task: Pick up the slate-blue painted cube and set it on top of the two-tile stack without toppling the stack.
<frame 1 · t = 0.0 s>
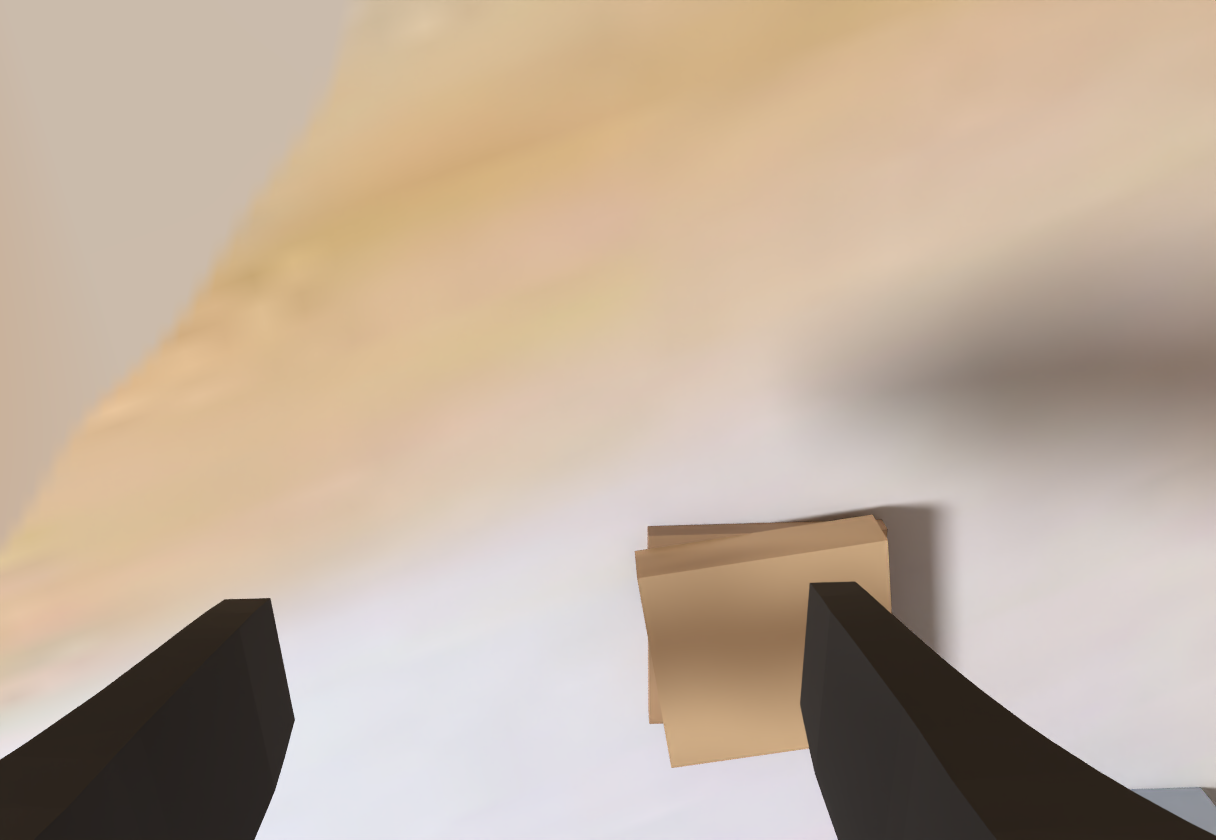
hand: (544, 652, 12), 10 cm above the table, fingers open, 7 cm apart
slab top: (764, 630, 24), resting on slab bottom
slab bottom: (754, 603, 25), on the table, touching slab top
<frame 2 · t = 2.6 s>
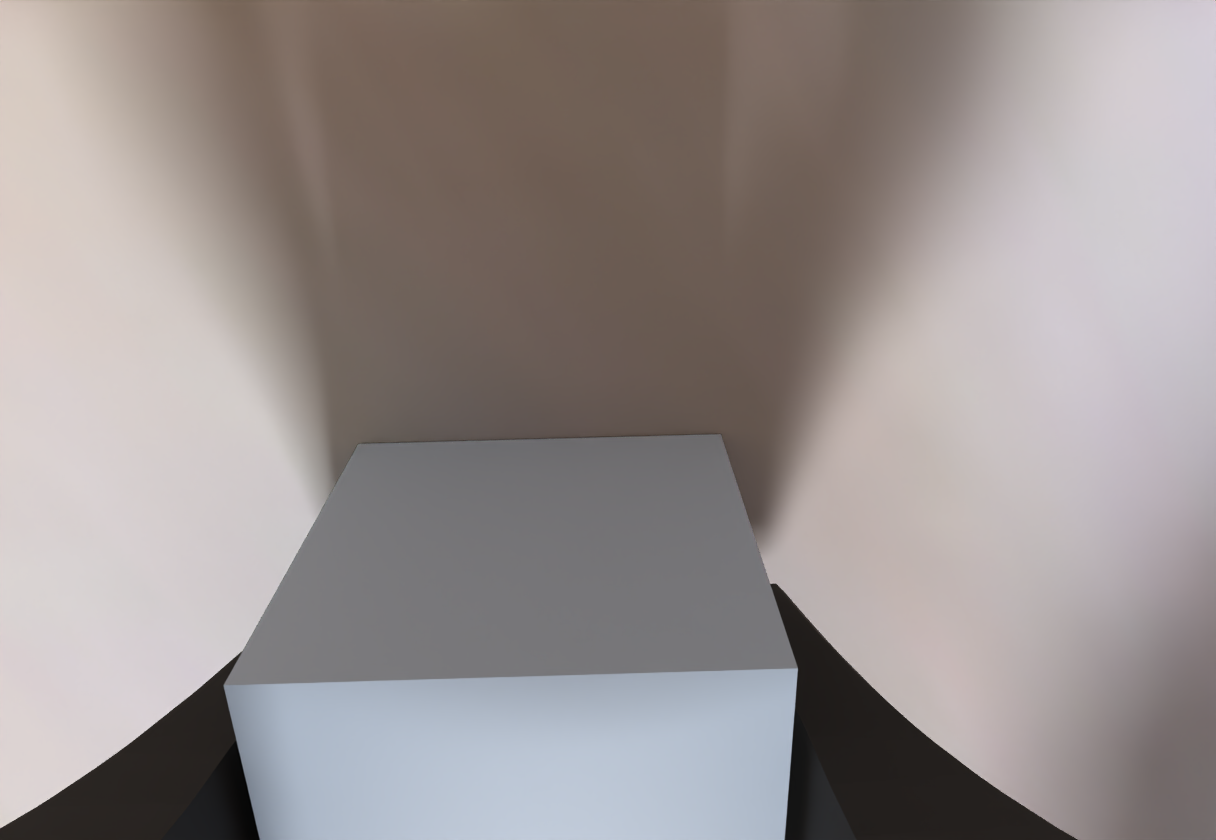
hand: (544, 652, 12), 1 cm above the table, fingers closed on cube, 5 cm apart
cube: (548, 591, 13), on the table, touching gripper
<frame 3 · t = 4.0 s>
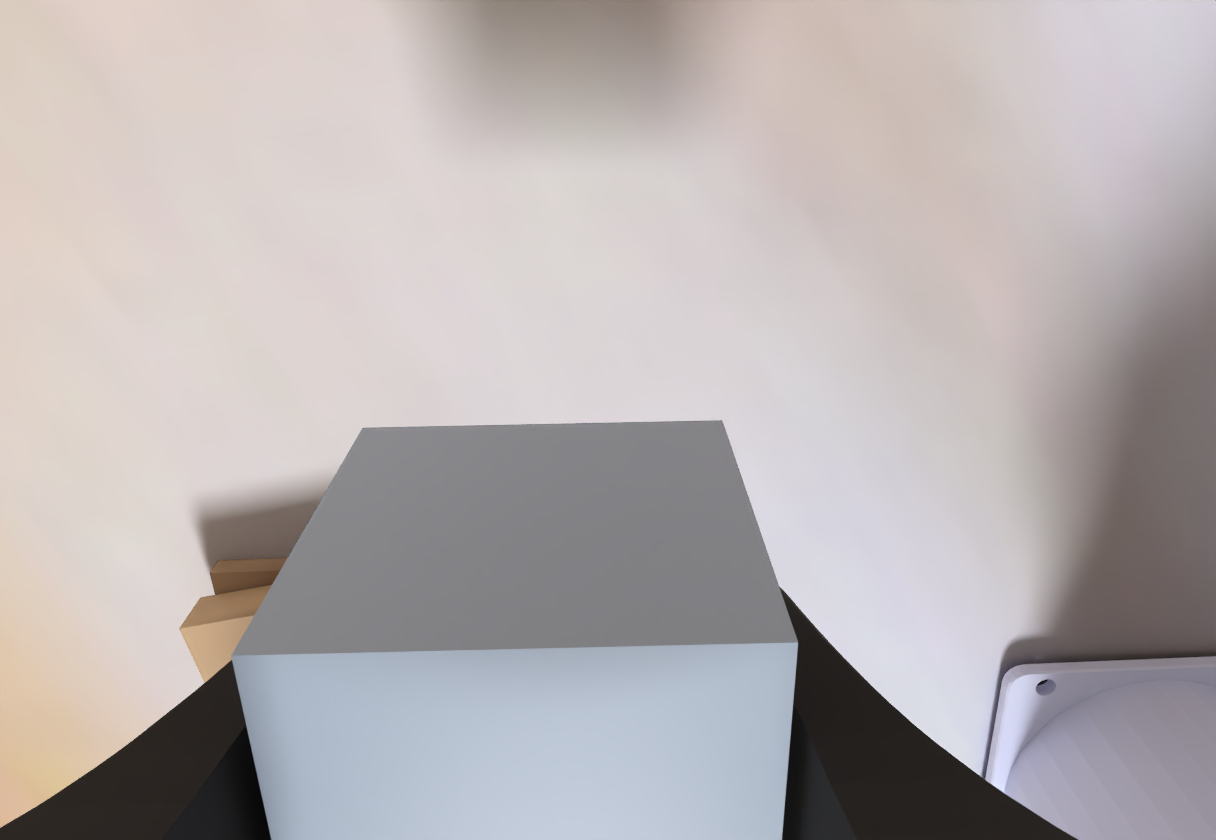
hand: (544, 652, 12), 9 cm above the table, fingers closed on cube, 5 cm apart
cube: (549, 577, 14), point 8 cm above the table, touching gripper
slab top: (356, 673, 23), point 1 cm above the table, touching slab bottom
slab bottom: (363, 638, 24), on the table, touching slab top
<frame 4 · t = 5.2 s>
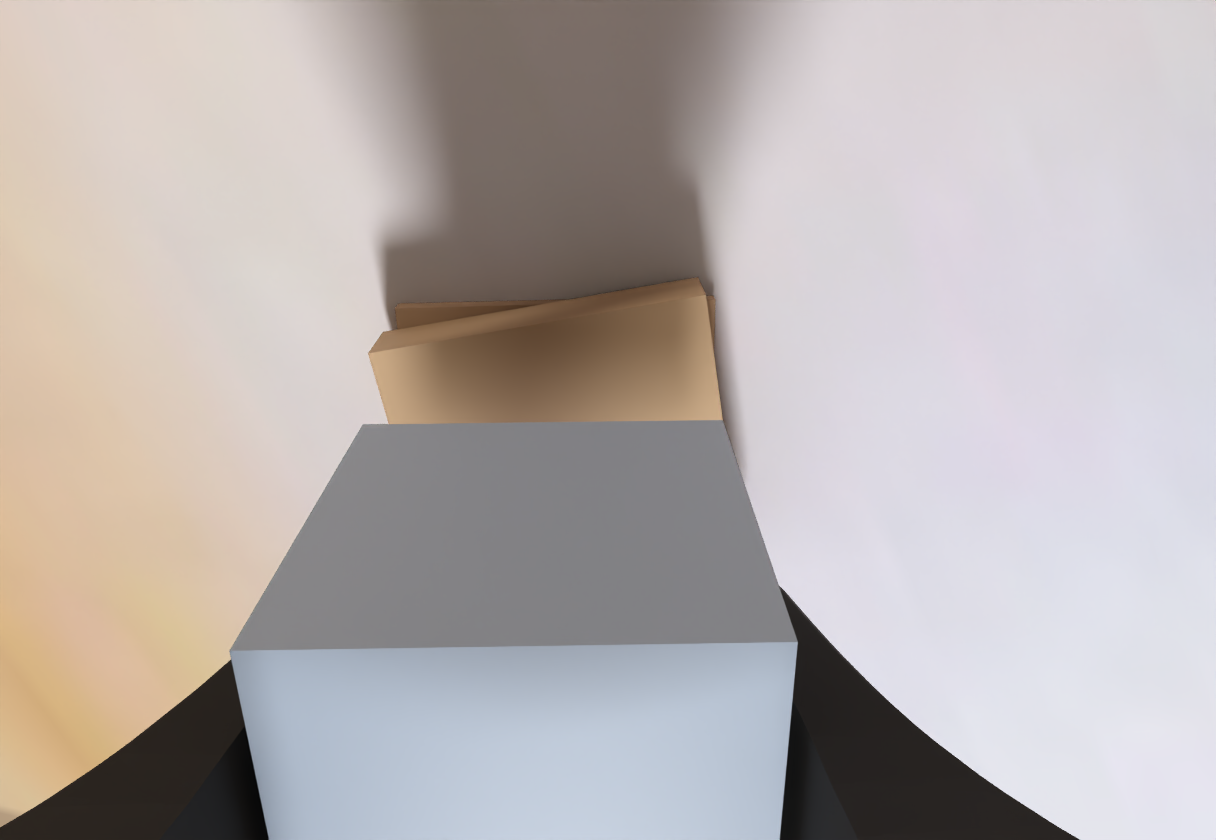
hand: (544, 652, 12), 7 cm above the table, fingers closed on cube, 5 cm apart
cube: (549, 575, 14), point 5 cm above the table, touching gripper
slab top: (569, 448, 18), resting on slab bottom
slab bottom: (563, 424, 19), on the table, touching slab top
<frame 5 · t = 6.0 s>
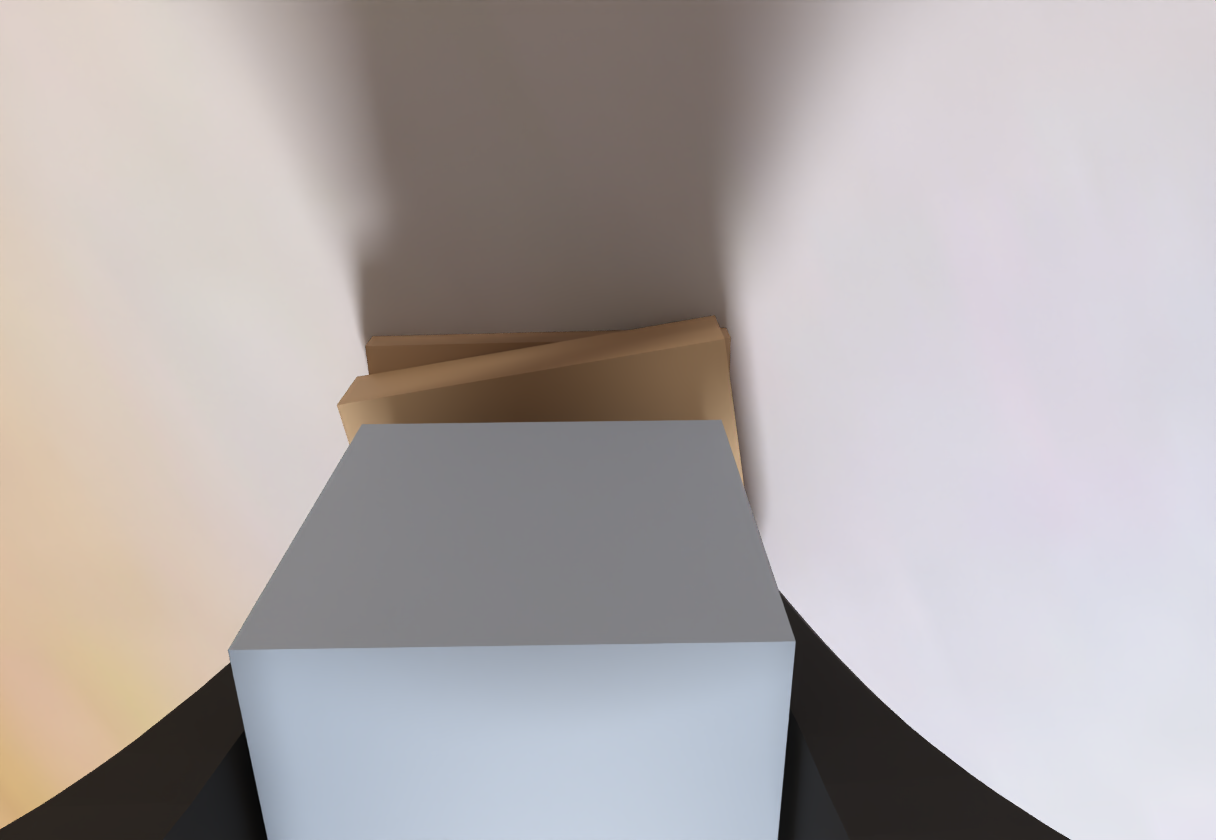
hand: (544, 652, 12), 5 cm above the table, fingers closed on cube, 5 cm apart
cube: (547, 575, 14), point 3 cm above the table, touching gripper
slab top: (568, 505, 16), point 1 cm above the table, touching slab bottom
slab bottom: (558, 471, 17), on the table, touching slab top
when the fingers open (5 cm above the table, at t = 6.2 s): cube drops 1 cm, resting on slab top.
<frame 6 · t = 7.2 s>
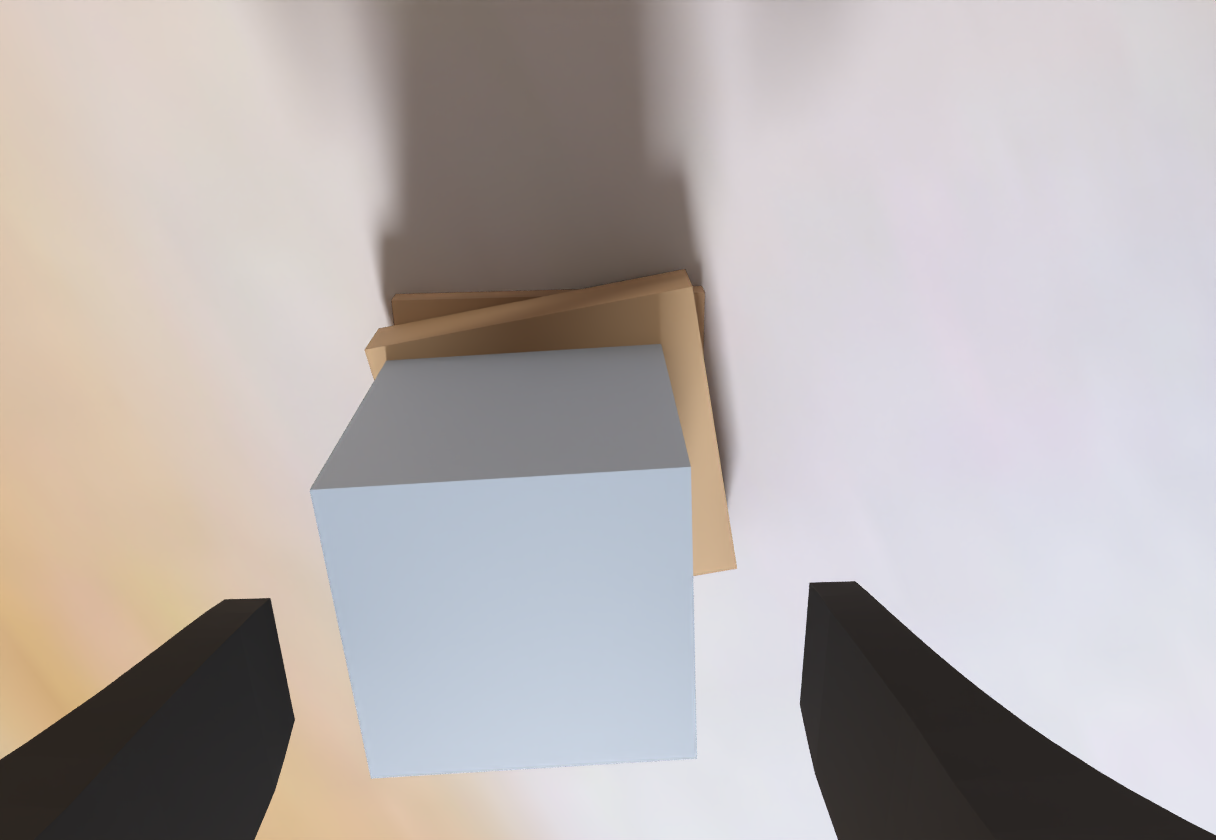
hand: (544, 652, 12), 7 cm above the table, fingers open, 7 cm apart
cube: (535, 474, 17), point 2 cm above the table, touching slab top
slab top: (563, 438, 18), resting on slab bottom, touching cube
slab bottom: (556, 415, 20), on the table, touching slab top
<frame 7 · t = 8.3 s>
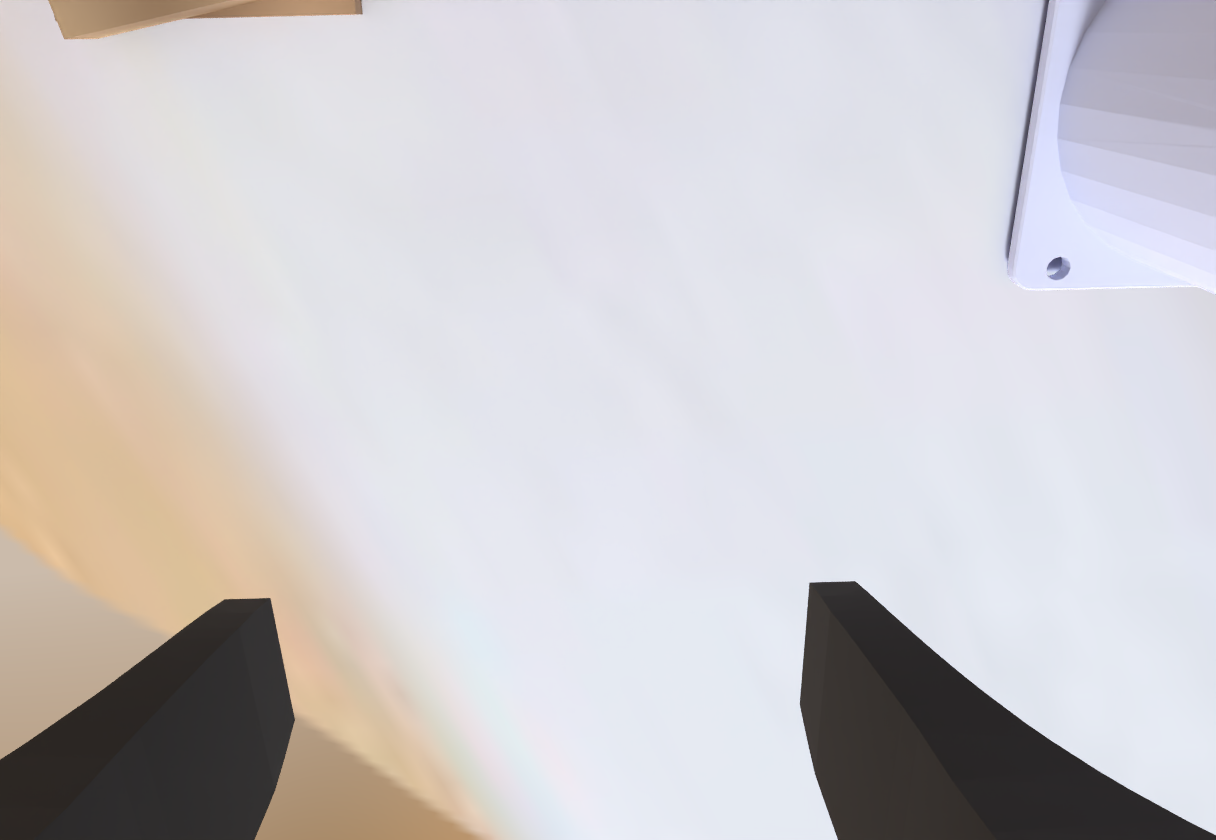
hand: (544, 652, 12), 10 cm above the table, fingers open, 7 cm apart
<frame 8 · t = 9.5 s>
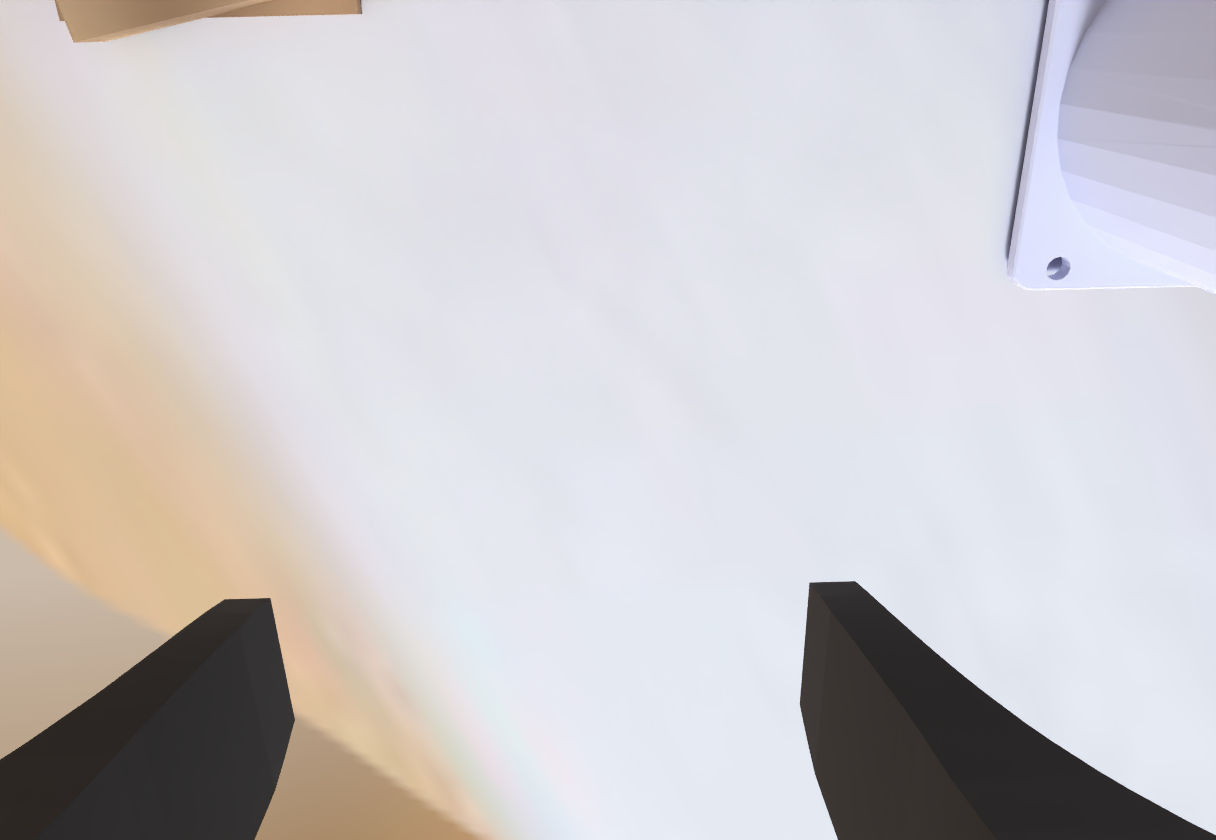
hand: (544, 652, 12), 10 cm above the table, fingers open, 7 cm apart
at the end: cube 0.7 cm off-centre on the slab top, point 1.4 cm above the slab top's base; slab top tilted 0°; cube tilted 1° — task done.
